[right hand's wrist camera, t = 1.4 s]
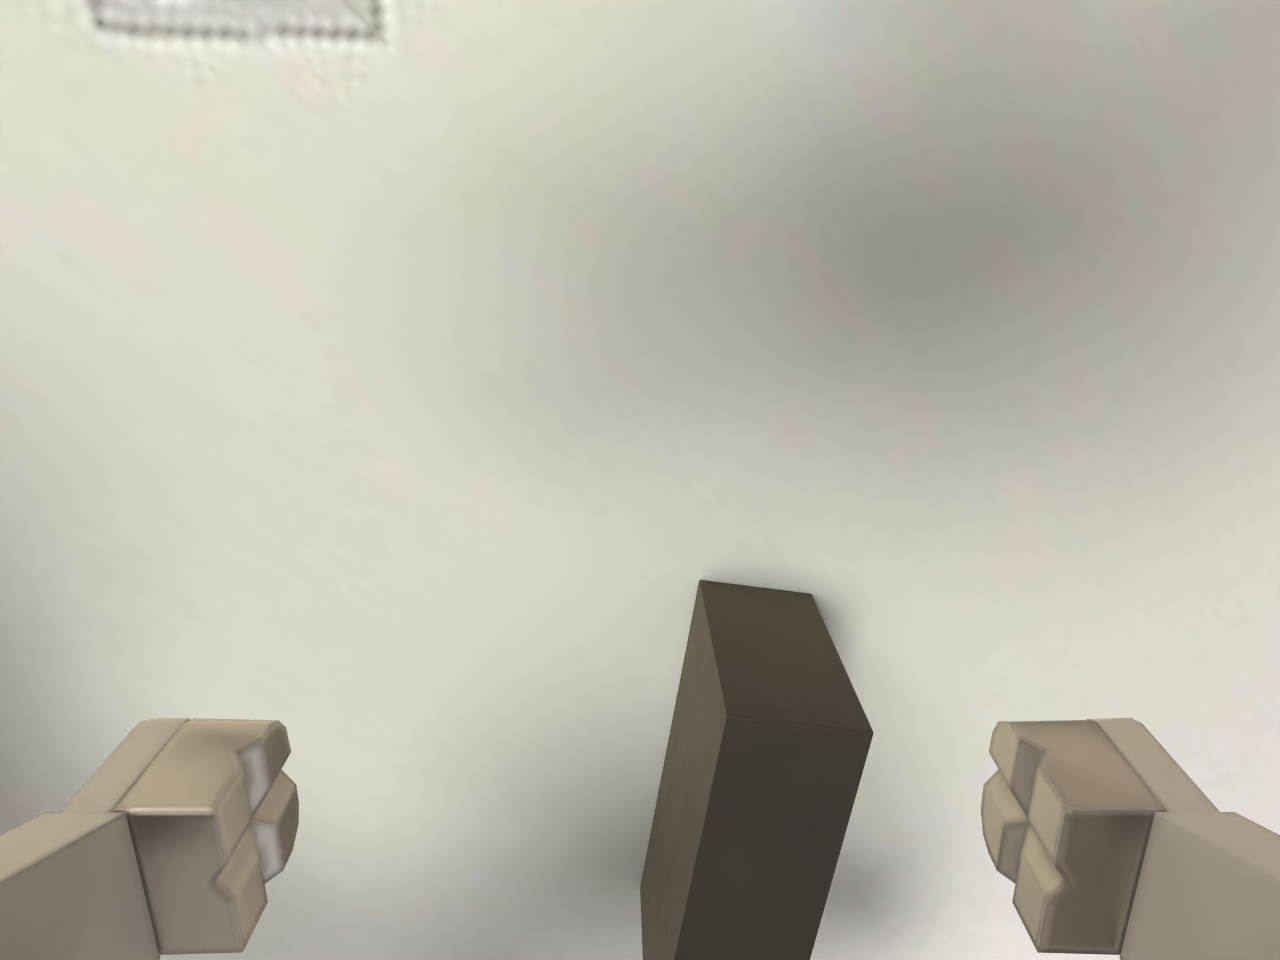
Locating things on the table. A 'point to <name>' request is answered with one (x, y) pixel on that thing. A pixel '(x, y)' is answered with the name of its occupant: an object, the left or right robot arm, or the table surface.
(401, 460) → the table surface
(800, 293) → the table surface
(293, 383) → the table surface
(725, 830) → the box
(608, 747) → the table surface
